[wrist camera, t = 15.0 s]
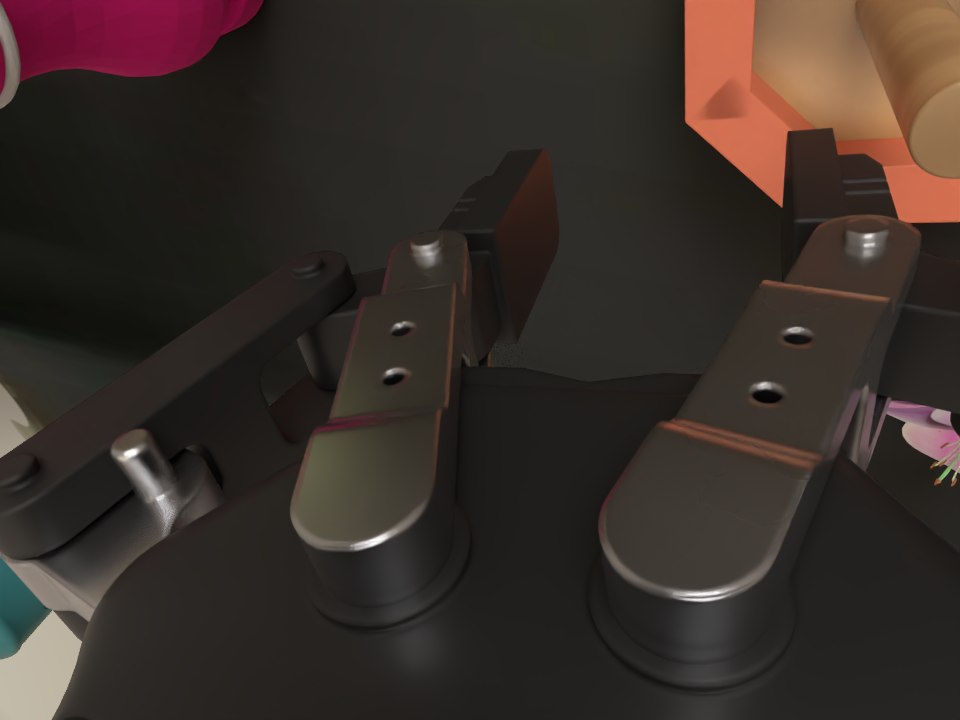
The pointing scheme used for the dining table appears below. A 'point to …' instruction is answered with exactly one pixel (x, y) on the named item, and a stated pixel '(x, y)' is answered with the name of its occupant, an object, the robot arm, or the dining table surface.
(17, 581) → the beverage bottle
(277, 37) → the dining table surface
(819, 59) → the peg stand
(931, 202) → the ring
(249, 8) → the pepper mill
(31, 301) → the dining table surface
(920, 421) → the lily
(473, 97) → the dining table surface
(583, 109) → the dining table surface
